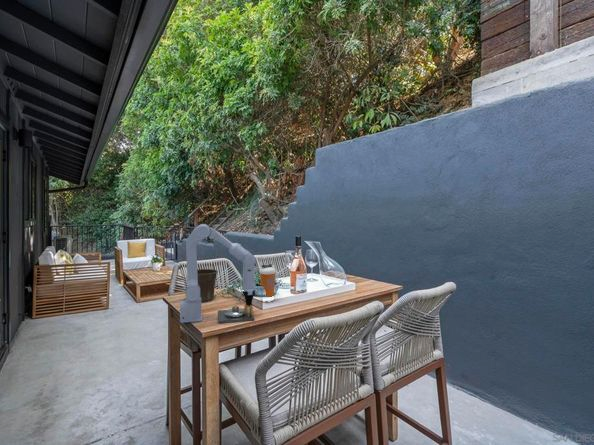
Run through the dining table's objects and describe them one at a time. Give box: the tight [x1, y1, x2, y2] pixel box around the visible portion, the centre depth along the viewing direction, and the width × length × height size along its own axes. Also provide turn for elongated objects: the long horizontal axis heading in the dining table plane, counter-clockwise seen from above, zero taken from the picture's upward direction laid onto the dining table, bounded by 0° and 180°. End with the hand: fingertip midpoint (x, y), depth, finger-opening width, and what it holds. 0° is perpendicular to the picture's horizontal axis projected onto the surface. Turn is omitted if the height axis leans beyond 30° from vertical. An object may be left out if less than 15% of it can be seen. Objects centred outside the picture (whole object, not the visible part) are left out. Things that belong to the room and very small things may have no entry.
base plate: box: [217, 307, 256, 325], centre depth 152 cm, size 16×16×1 cm
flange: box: [225, 303, 254, 317], centre depth 152 cm, size 14×10×4 cm
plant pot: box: [197, 268, 218, 303], centre depth 182 cm, size 16×16×16 cm
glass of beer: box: [259, 263, 277, 297], centre depth 179 cm, size 9×9×20 cm
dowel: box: [247, 307, 250, 317], centre depth 149 cm, size 2×2×4 cm
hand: (248, 306), depth 156 cm, fingers closed
